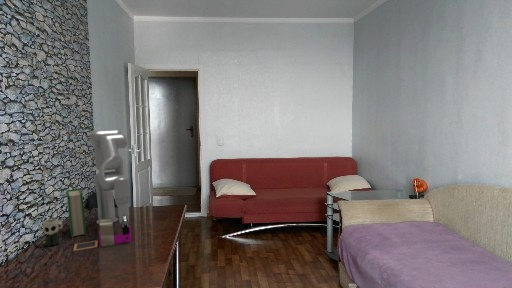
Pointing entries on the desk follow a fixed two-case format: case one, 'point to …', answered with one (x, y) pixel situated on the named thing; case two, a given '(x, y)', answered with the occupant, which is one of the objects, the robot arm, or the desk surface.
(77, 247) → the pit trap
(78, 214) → the hardback book
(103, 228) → the tunnel
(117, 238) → the toy block
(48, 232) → the character mug
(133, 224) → the desk surface
